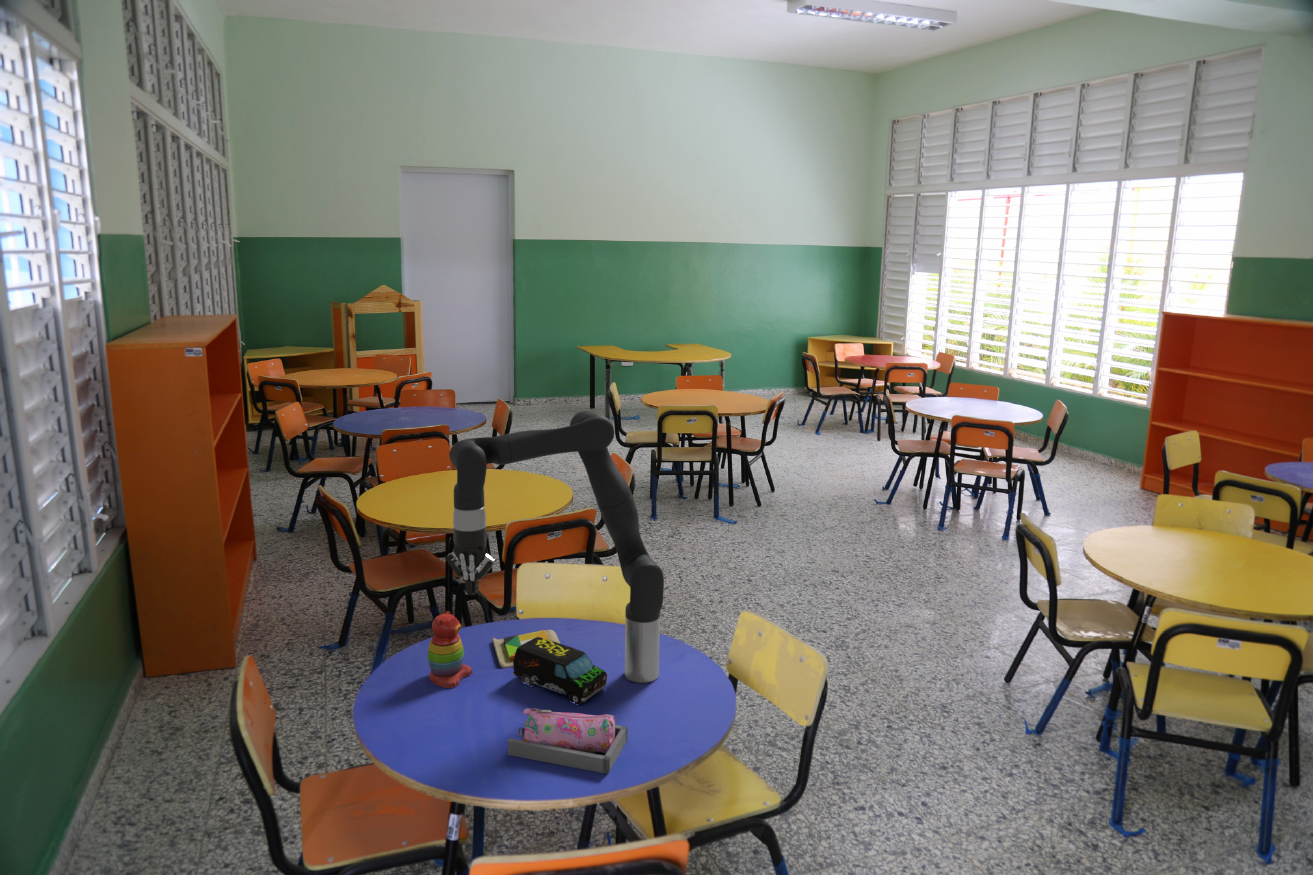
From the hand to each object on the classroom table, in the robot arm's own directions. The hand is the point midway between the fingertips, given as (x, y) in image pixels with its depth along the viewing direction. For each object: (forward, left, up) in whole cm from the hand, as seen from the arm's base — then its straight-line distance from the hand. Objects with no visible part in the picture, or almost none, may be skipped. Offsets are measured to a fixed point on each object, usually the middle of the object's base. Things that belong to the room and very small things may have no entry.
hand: (471, 593), depth 204 cm
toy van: (-18, +15, -31) cm, 39 cm away
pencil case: (+8, +28, -31) cm, 43 cm away
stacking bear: (-13, -15, -31) cm, 37 cm away
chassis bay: (+8, +28, -31) cm, 43 cm away
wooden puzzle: (-34, -1, -32) cm, 47 cm away
